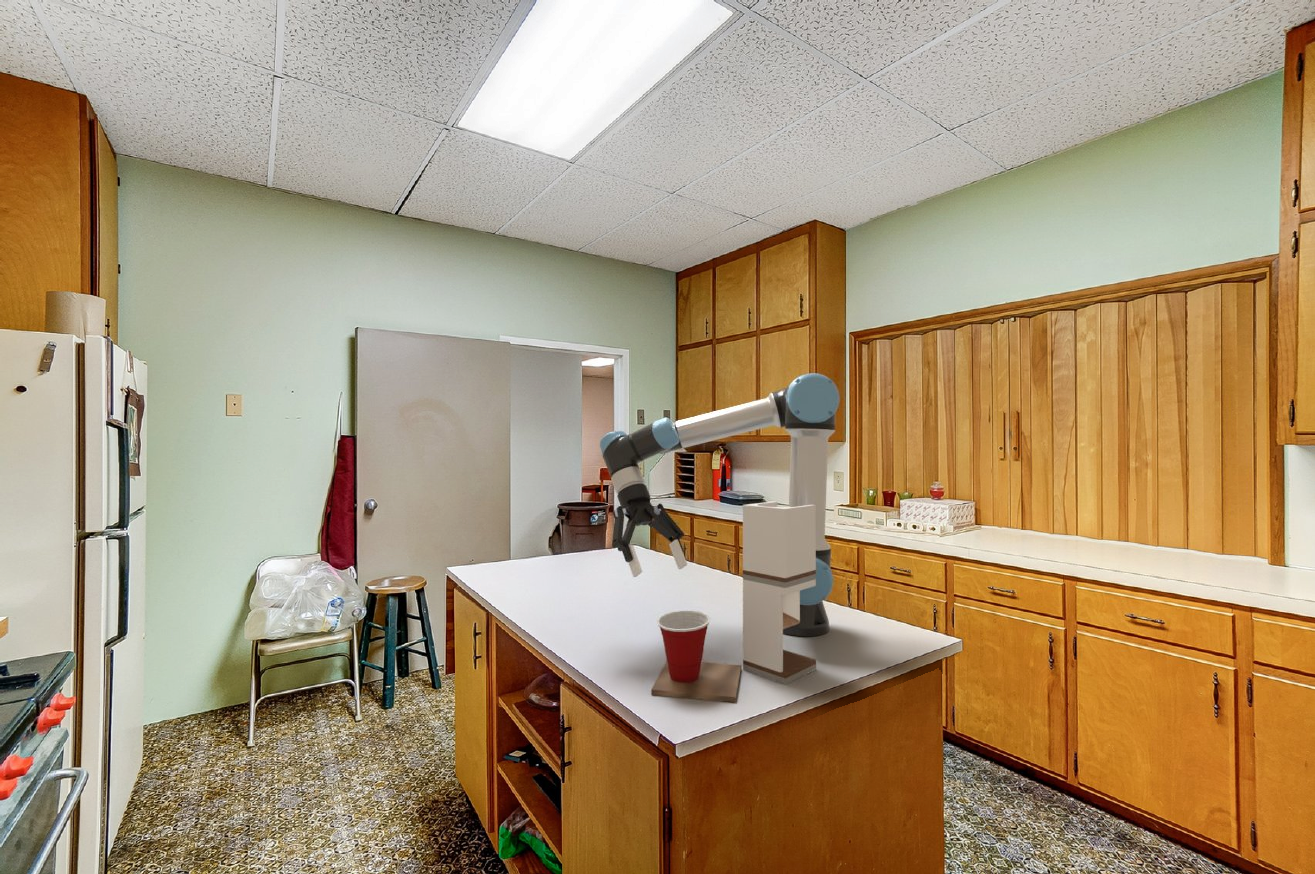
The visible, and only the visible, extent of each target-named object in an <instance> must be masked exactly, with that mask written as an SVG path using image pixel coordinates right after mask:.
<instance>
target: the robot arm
mask: <svg viewBox="0 0 1315 874" xmlns="http://www.w3.org/2000/svg"><path fill="white" fill-rule="evenodd" d="M839 405H840V391H839V389H838V387H837V385H836V383H835V382H834V381H833V380H832V379H831V378H829V377H828V376H826V375H824V374H821V373H815V372H814V373H813V372H811V373H806V374H802V375H800V376H798V377H796V378H795V379H793V381H792V382H791V383H790V384H789V385H788V386H787V387H785V388H782V389H779V390H777V391H772V392H770V393H769V395H768V396H767V397H764V398H762V399H760V398H759V399H756V400H753V401H749V402H746V403H742V404H739V405H734V406H729V407H727V408H723V409H718V410H714V411H711V412H708V413H703V414H699V415H696V416H692V417H689V418H684V419H680V420H676V421H672V420H671V418H669V417H663V418H659V419H658V420H655V421H653V422H652V423H650V424H648V425H646V426H644V427H642V428H641V429H638V430H636V431H633V432H632V433H629V434H627V433H626V432H625V431H623V430H619V429H618V430H615V431H610V432H607V433H606V434H604V436H602V437H601V439H600V441H599V447H600V451H601V455H602V456H601V457H602V459H603V461H604V463H605V466H606V467H607V471H608V473H609V476H610V479H611V480H610V481H611V482H612V485H613V488H614V491H615V493H616V494H617V499H618V502H619V506H617V507H616V508H615V509H614V510H613V511H612V515H613V518H614V523H613V532H612V541H611V542H612V543H611V547H612V548H613V549H616V548H617V551H618V552H622V555H623V558H624V560H625V563H628V566H629V568H630V571H631V574H632V578H636V577H638V576H639V575H640V574H642V573H643V569H642V567H641V564H640V560H639V558H638V555H637V553H636V549H635V547H634V545H633V544H631V540H632V539H633V535H634V532H635V529H636V527H640V526H649V527H650V528H654V529H655V531H656V532H658V533H659V534H660V535H661V536H663V537H664V538H665V539H666V540H667V541H669V544H668V545H669V549H670V551H671V554H672V556H673V559H674V561H675V564H676V566H677V569H678V570H682V569H683V568H684V567H687V566H688V562H687V560H686V558H685V555H684V553H685V551H684V548H683V546H682V542H681V539H682V538H683V537H685V533H684V531H683V530H682V529H681V527H680V526H679V525H678V524H677V523H676V522H675V520H673V518H672V517H671V516H670V515H669V513H668V512H667V511H666V510H665V507H664V505H663V504H662V503H661V502H660V503H658V504H657V505H654V506H653V504H652V503H651V495H650V494H651V493H650V492H649V489H648V486H647V485H646V482H645V479H644V476H643V473H642V471H641V469H640V467H639V463H640V462H645V460H649V458H652V457H655V456H656V455H658V454H659V455H660V454H661V455H662V454H668V453H671V452H673V451H678V450H681V449H686V448H689V447H693V446H696V445H701V444H704V443H709V442H712V441H716V440H720V439H725V438H729V437H733V436H737V435H741V434H745V433H749V432H752V431H757V430H761V429H765V428H769V427H773V426H775V427H777V428H778V429H782V428H784V431H785V432H786V433H787V434H788V435H789V436H790V458H789V459H790V460H789V461H790V463H789V486H788V487H789V493H788V507H798V506H806V505H816V586H813V587H810V588H807V589H803V590H800V623H799V624H797V625H794V626H791V627H788V628H785V629H783V635H784V634H785V635H790V636H795V637H816V636H821V635H824V634H826V633H828V632H829V631H830V621H829V617H828V614H827V610H826V608H825V605H824V601H825V600H826V599H827V598H828V597H829V596H830V594H831V593H832V589H833V588H834V587H833V586H834V576H833V575H834V574H833V572H832V569H831V563H832V561H831V557H832V546H831V545H830V543H829V542H828V541H827V540H826V537H825V536H826V507H827V484H828V483H827V481H828V477H827V476H828V454H829V453H828V450H829V448H828V447H829V446H828V445H829V438H830V437H831V436H832V435H833V434H835V433H836V418H837V417H836V414H837V413H836V412H837V410H838V408H839ZM625 517H626V518H627V519H628V520H627V522H626V525H625V526H626V527H625V529H624V523H625Z"/></svg>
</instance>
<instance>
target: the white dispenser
mask: <svg viewBox="0 0 1315 874" xmlns="http://www.w3.org/2000/svg"><path fill="white" fill-rule="evenodd" d="M813 586H816V505H806V506H798V507H789V506H787V507H786V506H784V507H783V506H782V507H781V506H780V507H779V506H778V501H769V502H768V501H767V502H766V501H765V502H759V503H758V502H757V503H756V502H755V503H749V504H742V670H743V671H747V672H749V673H752V674H754V675H758V676H760V677H764V678H765V679H769V680H771V681H774V680H775V681H774V682H776V683H777V682H778V683H780V684H783V685H788V684H789V683H791V682H793V681H795V680H797V679H799V678H801V677H800V676H802V677H803V675H804V674H806V673H808V672H810V671H812V670H814V669H816V670H817V659H816V658H811V657H808V656H805V655H801V654H799V653H795V652H792V651H789V650H786V649H784V633H783V629H785V628H788V627H791V626H794V625H797V624H799V623H800V590H803V589H807V588H810V587H813ZM814 671H815V670H814ZM812 672H813V671H812ZM810 673H811V672H810ZM808 674H809V673H808ZM806 675H807V674H806ZM804 676H805V675H804Z"/></svg>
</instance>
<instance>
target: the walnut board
mask: <svg viewBox="0 0 1315 874" xmlns="http://www.w3.org/2000/svg"><path fill="white" fill-rule="evenodd" d="M741 672H742V665H741V664H731V663H718V662H707V661H702V662H701V667H700V674H699V677H698V679H697V680H696V681H693V682H689V683H681V682H676V681H674V680H672V679H671V677H670V674H669V668H668V662H667V660H665V663H664V665H663V666H662V669H661V670H660V672H659V674H658V677H657V678H656V680H655V682H654V684H653V686H652V687H651V691H650V692H651V696H658V697H659V696H662V697H670V696H671V697H673V698H681V699H692V700H705V701H713V700H715V702H724V701H730V702H729V703H735V702H737V697H738V696H737V695H738V691H737V690H739V684H740V679H741V674H742V673H741ZM736 696H737V697H736ZM719 700H721V701H719Z"/></svg>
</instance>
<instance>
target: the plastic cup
mask: <svg viewBox="0 0 1315 874" xmlns="http://www.w3.org/2000/svg"><path fill="white" fill-rule="evenodd" d="M710 621H711V617H710V615H708V614H707V613H704V612H700V611H697V610H676V611H671V612H668V613H667V612H666V613H664V614H662V615H661V616H659V617H657V619H656V624H657V626H658V627H659V630H660V633H661V637H662V641H663V646H664V652H665V658H666V661H667V662H668V668H669V674H670V677H671V679H672V680H674V681H676V682H681V683H689V682H693V681H696V680H697V679H698V677H699V674H700V667H701V662H703V656H704V647H705V642H706V635H707V630H708V626H709V624H710Z"/></svg>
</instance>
